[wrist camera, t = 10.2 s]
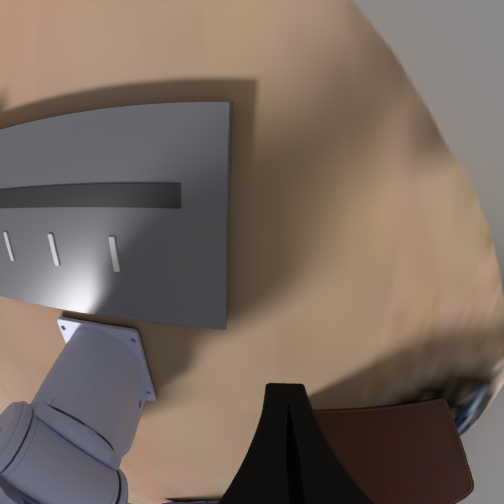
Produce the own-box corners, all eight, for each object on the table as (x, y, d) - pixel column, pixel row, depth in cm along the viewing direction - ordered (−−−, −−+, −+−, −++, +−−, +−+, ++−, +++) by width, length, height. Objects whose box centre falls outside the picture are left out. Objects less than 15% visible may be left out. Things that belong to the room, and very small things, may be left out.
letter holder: (275, 407, 27) (276, 543, 14) (445, 394, 27) (483, 495, 14) (265, 449, 31) (263, 552, 19) (410, 438, 31) (433, 524, 19)
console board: (227, 315, 21) (225, 330, 20) (-38, 277, 22) (-46, 284, 20) (232, 102, 15) (229, 101, 14) (-66, 152, 15) (-77, 157, 14)
